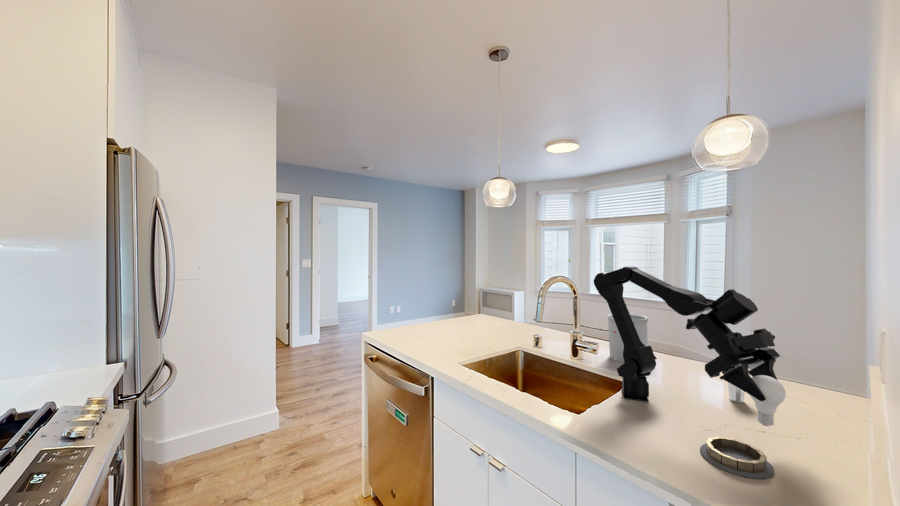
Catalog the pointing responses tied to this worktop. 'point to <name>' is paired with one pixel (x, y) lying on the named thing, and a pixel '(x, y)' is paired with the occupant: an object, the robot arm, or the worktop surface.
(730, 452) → the socket mat
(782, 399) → the lightbulb
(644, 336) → the utensil holder
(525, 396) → the worktop surface
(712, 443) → the socket collar
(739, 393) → the milkshake
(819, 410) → the worktop surface
